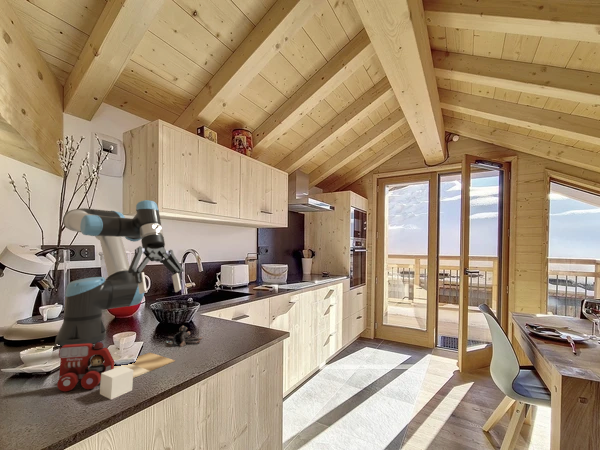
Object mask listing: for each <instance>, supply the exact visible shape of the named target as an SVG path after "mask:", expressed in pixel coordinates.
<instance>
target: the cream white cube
mask: <svg viewBox="0 0 600 450" xmlns="http://www.w3.org/2000/svg"><path fill="white" fill-rule="evenodd" d="M133 382H134V378H133V370H132V369H130V368H127V367H124V366H120V367H117V368H115V369H112V370H109V371H106V372H103V373H101V380H100V382H99V384H100V385H99V387H100V388H99V395H101V396H103V397H105V398H106V399H109V400H113V399H115V398H118V397H120V396H122V395H124V394H126V393H129V392H131V391H133Z"/></svg>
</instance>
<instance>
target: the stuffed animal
mask: <svg viewBox="0 0 600 450" xmlns="http://www.w3.org/2000/svg"><path fill="white" fill-rule="evenodd" d="M187 330H188V327H187V326H185V325H181V326H180V327H179V330H178V332H177V333H176V334H174V336H170V335H169V336H168V337H167V338H168V341H166V343H167V344H168V345H169V346H171V347H172V348H173V347H174V348H175V347H179V348H184V347H185V346H186V345H187V346H188V345H199V344H200V343H201V341H202V340H203V337H202V336H201V337H197V338H196V337H191V338H189V336H190V335H191V331H187ZM186 338H188V339H186ZM169 340H172V341H169Z"/></svg>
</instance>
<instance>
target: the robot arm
mask: <svg viewBox="0 0 600 450" xmlns="http://www.w3.org/2000/svg"><path fill="white" fill-rule="evenodd" d="M135 212H136V214H135V215H134V216H133V218H128V217H125V215H124V214H123V213H122V212H120V211H115V210H105V209H94V208H85V207H82V208H81V207H80V208H75V209H71V210H69V211H67V212H65V214H64V215H63V217H62V224H63V226H64V227H65V228H66V229H68V230H70V231H73V232H76V233H81V234H82V235H84V236H91V237H95V238H96V239H97V240H98V241H99V242H100V247H101V250H102V254H103V258H104V263H105V268H106V272H107V276H106V279H105V277H103V276H94V277H85V278H81V279H76V280H73V281H70V282H69V283H67V285H66V289H65V294H64V297H65V298H64V308H63V309H64V311H63V320H62V324H61V326H60V328H59V331H58V333H57V335H56V336H55V341H54V345H55V344H58V345H60V346H64V345H72V344H87V343H91V344H93V345H94V344H96V343H97V342H102V341H103V340H105V339H106V338H107V331H106V326H105V325H104V321H103V320H104V319H103V311H104V310H110V309H111V310H112V309H118V308H127V307H131V306H137V305H139V304H140V303H141V302H142V301H143V298H144V297H145V293H146V292H147V291H148V290H147V284H146V278H145V277H146V276H145V272H144V271H143V270H144V269H145V267H146V265H147V264H148V263H149V262H157V263H161V264H163V266H165V267H166V269H168V271H169V272H171V273H172V274H173V275H171V278H172V283H173V288H174V292H175V293H178V292H179V291H181V290H182V285H181V281H182V278H181V273H183V272H184V268H183V267H182V265H181V263H180V262H179V260H178V259H177V257H176V256H175V254H174V251H173V249H169V250H166V249H165V246H166V243H165V242H166V241H165V238H164V234H163V233H164V232H163V227H162V221H161V215H160V211H159V206H158V204H157V203H156V202H155V201H154V200H148V199H145V200H141V201H138V202H137V203H136V205H135ZM123 238H124V239H125V240H127V241H130V242H132V243H133V242H139V241H140V240H141V241H140V242H141V246H140V245H139V246H138V247H136V248H135V249H134V255H133V258H132V260H131V263H129V259H128V256H127V252H126V248H125V244H124V241H123ZM142 255H144V256H145V257H144V258H143V260H142V261H141V262H140V259H141V257H142ZM139 262H140V264H139ZM142 271H143V272H142Z"/></svg>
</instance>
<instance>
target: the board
mask: <svg viewBox="0 0 600 450" xmlns="http://www.w3.org/2000/svg"><path fill="white" fill-rule="evenodd" d="M137 357H138V358H137V360H136V362H135V363H132V364H128V365H121V366H124V367H127V368H130V369H132V370H133V379H134V378H137V377H140V376H142V375H145V374H148V373H149V372H153V371H154V370H157V369H159V368H162V367H164V366H167V365H170V364H172V363H174V362H175V361H176V360H175V359H171V358H169V357H165V356H162V355H159V354H156V353H153V352H147V353H144V354H142V355H138V356H137ZM117 367H120V366H114V369H115V368H117Z"/></svg>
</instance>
